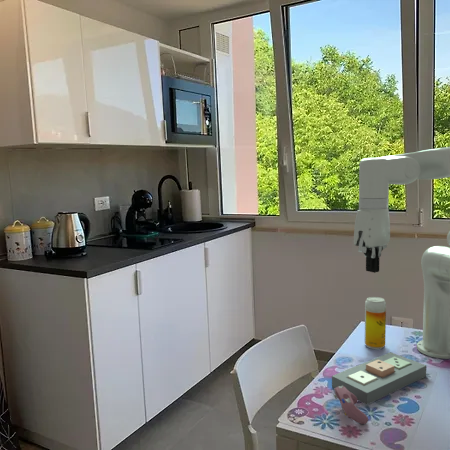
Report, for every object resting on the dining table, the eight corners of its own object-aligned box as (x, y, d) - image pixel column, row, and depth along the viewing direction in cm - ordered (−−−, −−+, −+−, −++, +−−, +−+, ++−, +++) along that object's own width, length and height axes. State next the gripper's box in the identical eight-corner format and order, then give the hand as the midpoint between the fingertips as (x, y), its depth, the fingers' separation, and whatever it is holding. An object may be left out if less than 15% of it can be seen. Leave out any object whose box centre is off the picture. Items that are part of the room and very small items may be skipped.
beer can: (386, 350, 140) (387, 302, 138) (365, 349, 141) (366, 301, 139) (383, 342, 145) (384, 296, 143) (363, 341, 147) (364, 296, 145)
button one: (360, 381, 120) (360, 370, 119) (376, 388, 116) (377, 377, 115) (347, 387, 117) (347, 375, 117) (363, 395, 113) (363, 383, 113)
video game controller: (341, 408, 111) (328, 384, 110) (358, 400, 111) (345, 375, 110) (352, 432, 101) (337, 406, 100) (370, 423, 101) (356, 396, 100)
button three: (394, 366, 128) (394, 356, 127) (410, 373, 124) (410, 362, 123) (382, 371, 125) (382, 361, 125) (398, 378, 121) (399, 367, 120)
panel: (390, 362, 132) (390, 352, 131) (426, 376, 123) (426, 365, 122) (331, 387, 118) (331, 375, 118) (367, 404, 109) (367, 392, 109)
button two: (378, 370, 124) (378, 359, 123) (394, 376, 120) (394, 365, 119) (365, 375, 121) (366, 364, 120) (381, 382, 117) (382, 371, 116)
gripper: (379, 201, 131) (378, 265, 133) (343, 205, 123) (343, 273, 125) (402, 203, 125) (401, 269, 127) (366, 207, 117) (365, 278, 119)
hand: (372, 271), depth 126 cm, fingers closed
